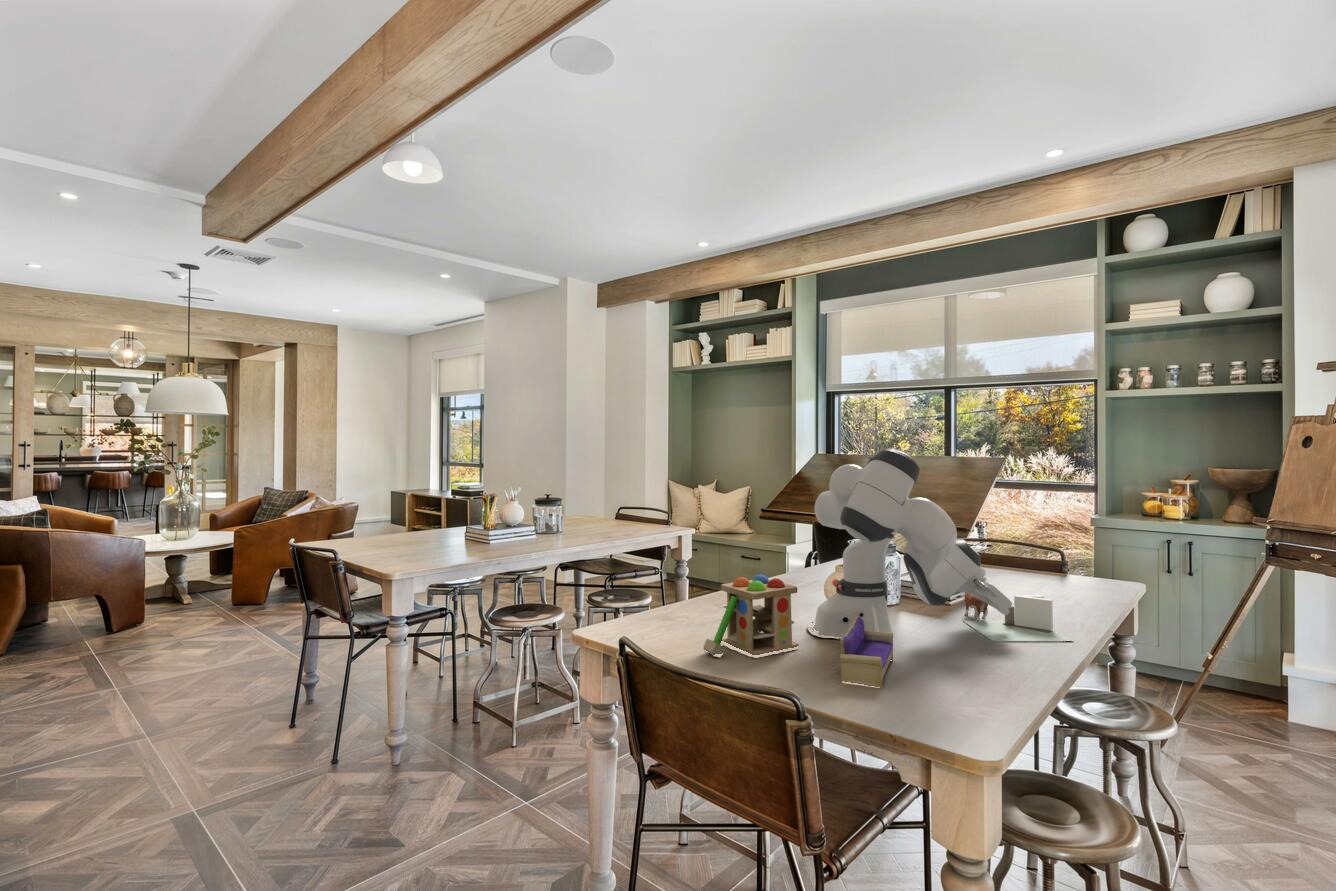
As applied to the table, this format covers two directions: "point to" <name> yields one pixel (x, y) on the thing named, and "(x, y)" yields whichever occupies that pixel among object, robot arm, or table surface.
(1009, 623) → the fixed rail
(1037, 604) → the white rectangular slab
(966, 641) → the table surface
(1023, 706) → the table surface
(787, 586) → the pounding bench toy
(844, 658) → the toy sofa
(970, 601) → the bull figurine
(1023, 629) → the mat
